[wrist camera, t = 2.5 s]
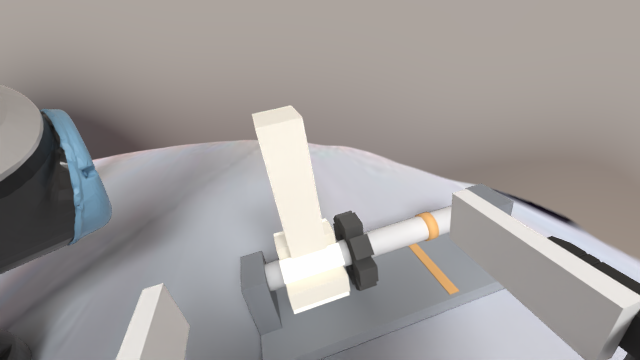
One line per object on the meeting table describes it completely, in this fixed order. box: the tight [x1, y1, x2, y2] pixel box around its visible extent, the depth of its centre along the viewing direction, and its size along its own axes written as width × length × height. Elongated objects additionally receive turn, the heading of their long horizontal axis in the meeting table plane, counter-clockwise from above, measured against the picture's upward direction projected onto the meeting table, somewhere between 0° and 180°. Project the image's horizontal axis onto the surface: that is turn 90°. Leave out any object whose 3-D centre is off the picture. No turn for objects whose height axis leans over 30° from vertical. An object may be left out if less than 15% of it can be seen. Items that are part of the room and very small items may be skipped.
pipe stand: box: [240, 184, 514, 360], centre depth 28 cm, size 26×10×8 cm, turn 106°
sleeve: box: [252, 105, 350, 314], centre depth 23 cm, size 5×7×18 cm
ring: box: [333, 211, 379, 291], centre depth 26 cm, size 2×7×7 cm, turn 16°
